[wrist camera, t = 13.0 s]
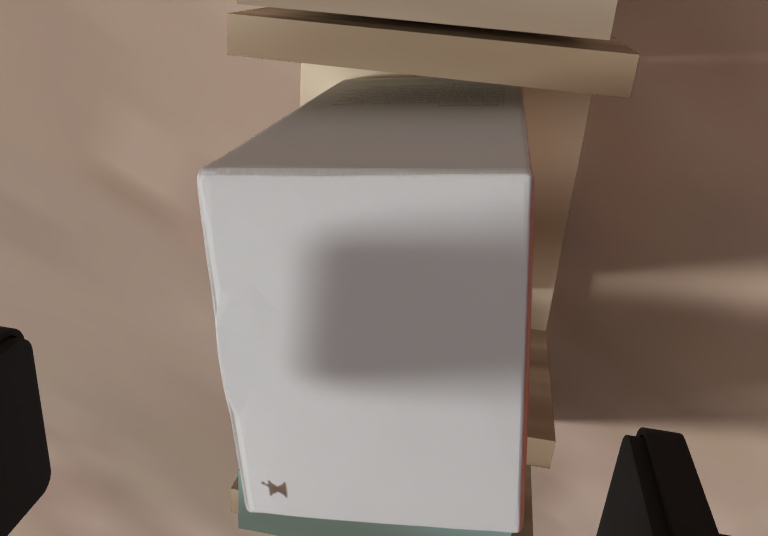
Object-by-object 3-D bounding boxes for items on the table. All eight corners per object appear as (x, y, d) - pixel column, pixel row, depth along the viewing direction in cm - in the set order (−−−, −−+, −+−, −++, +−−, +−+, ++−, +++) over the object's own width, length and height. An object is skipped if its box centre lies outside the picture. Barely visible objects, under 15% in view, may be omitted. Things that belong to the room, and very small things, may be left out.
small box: (520, 290, 27) (525, 545, 15) (355, 286, 28) (238, 520, 16) (526, 68, 24) (538, 168, 12) (340, 73, 25) (182, 170, 13)
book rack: (317, -129, 24) (189, -192, 14) (626, -106, 22) (706, -159, 13) (298, 383, 32) (207, 556, 22) (524, 420, 30) (529, 619, 21)
